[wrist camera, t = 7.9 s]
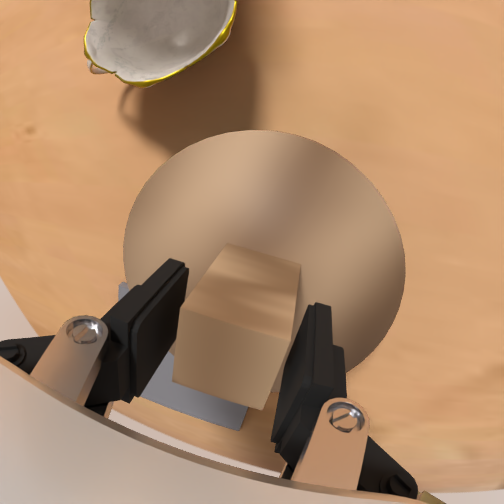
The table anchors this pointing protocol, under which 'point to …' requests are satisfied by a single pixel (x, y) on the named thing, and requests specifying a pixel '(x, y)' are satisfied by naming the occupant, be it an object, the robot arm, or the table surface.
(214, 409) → the mat
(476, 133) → the table surface
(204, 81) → the table surface
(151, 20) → the chinaware
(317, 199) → the lid
